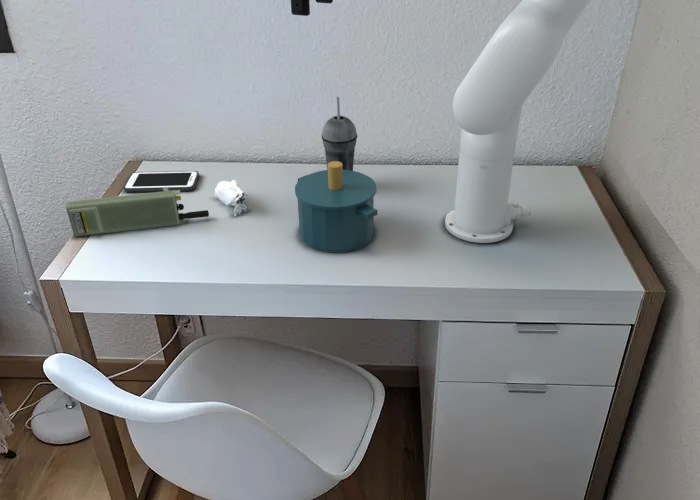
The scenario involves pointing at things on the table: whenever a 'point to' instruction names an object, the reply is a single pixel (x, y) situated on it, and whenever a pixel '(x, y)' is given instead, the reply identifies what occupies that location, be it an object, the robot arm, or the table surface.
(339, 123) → the beverage cup
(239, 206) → the white tied bag
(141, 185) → the cell phone
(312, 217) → the teal cooking pot
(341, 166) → the lid
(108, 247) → the table surface
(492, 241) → the robot arm
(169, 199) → the handheld radio
